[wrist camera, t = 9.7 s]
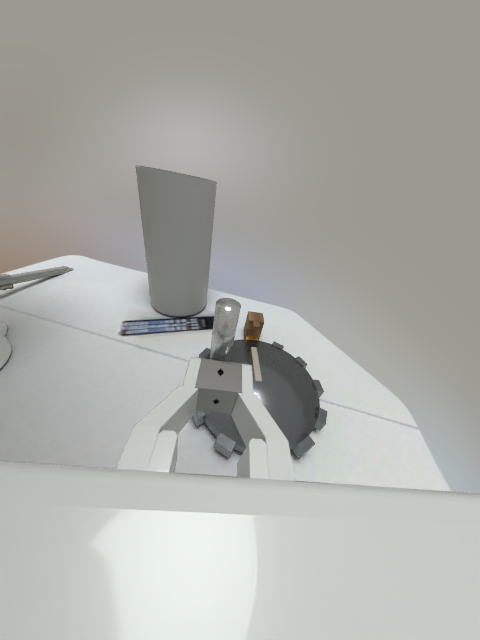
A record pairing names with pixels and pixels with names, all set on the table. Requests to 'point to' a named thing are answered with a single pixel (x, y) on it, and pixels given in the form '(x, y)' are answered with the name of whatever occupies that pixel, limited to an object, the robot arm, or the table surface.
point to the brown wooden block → (253, 324)
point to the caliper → (30, 276)
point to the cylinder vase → (176, 238)
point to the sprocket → (264, 385)
